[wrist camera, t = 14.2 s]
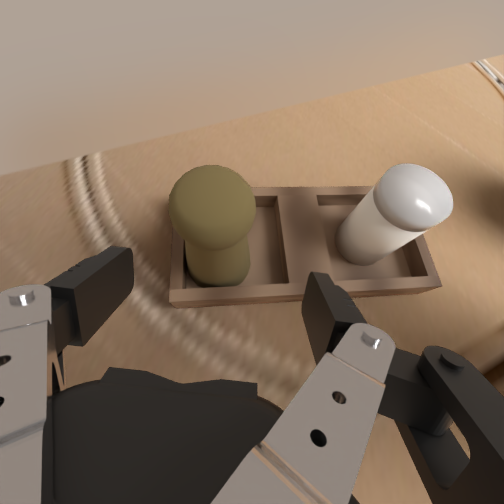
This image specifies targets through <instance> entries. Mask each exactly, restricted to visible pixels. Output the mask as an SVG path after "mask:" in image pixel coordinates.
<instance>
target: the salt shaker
mask: <svg viewBox="0 0 504 504" xmlns="http://www.w3.org/2000/svg"><path fill="white" fill-rule="evenodd" d="M452 208H453V198H452V194H451V192H450V190H449V188H448V186H447V185H446V184H445V182H444V181H443V180H442V179H441V178H440V177H439V176H438V175H436V174H435V173H434V172H432V171H430V170H429V169H427V168H424V167H422V166H419V165H415V164H407V163H406V164H398V165H395V166H393V167H391V168H390V169H388V170H387V171H386V173H385V174H384V175H383V176H382V177H381V178H380V180H379V181H378V182H377V183H376V184H375V185H374V187H373V188H372V189H371V190H370V191H369V192H368V194H367V195H366V196H365V197H364V198H363V199H362V201H361V202H360V203H359V204H358V205H357V206H356V207H355V209H354V210H353V211H352V212H351V213H350V214H349V216H348V217H347V218H346V219H345V220H344V221H343V223H342V224H341V225H340V226H339V227H338V229H337V231H336V234H335V243H336V246H337V249H338V251H339V252H340V253H341V255H342V256H343V257H344V258H345V259H347V260H348V261H349V262H351V263H354V264H356V265H361V266H368V265H372V264H374V263H376V262H378V261H379V260H381V259H383V258H384V257H386V256H387V255H389V254H391V253H392V252H394V251H395V250H397V249H399V248H400V247H402V246H403V245H405V244H407V243H408V242H410V241H411V240H413V239H415V238H416V237H418V236H419V235H421V234H423V233H424V232H426V231H427V230H429V229H431V228H432V227H434V226H435V225H437V224H439V223H440V222H442V221H443V220H445V219H446V218H447V217H448V216H449V215H450V214H451V212H452Z"/></svg>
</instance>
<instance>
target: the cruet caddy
mask: <svg viewBox="0 0 504 504" xmlns="http://www.w3.org/2000/svg"><path fill="white" fill-rule="evenodd" d="M373 187H374V186H348V187H251V190H252V192H253V194H254V197H255V203H256V214H255V218H254V222H253V225H252V228H251V229H250V231H249V232H248V233H247V238H248V245H249V252H250V263H251V265H250V269H249V272H248V275H247V276H246V278H245V279H244V281H243V282H242V283H241V284H239V285H238V286H231V287H212V288H202V287H200V286H199V285H197V284H196V283H195V282H194V281H193V279H192V278H191V277H190V275H189V271H188V268H187V260H186V248H185V240H184V239H182V238H181V236H180V235H179V234H178V233H177V231H176V230H175V229H174V227H173V231H172V251H171V271H170V290H169V302H170V303H171V304H172V305H173V306H174V307H175V308H191V307H207V306H224V305H240V304H257V303H273V302H290V301H303V297H304V292H305V288H306V284H307V280H308V276H309V274H310V272H311V271H312V272H320V273H328V274H329V276H330V278H331V279H332V281H333V283H334V284H335V285H339V286H340V287H341V288H342V289H344V290H345V291H346V292H347V293H348V294H349V296H350V297H351V298H355V297H372V296H388V295H405V294H419V293H422V292H426V291H429V290H432V289H435V288H438V287H441V286H442V284H441V281H440V279H439V276H438V273H437V271H436V268H435V265H434V263H433V260H432V257H431V254H430V252H429V249H428V246H427V244H426V241H425V238H424V236H423V234H421V235H419V236H418V237H416V238H415V239H413V240H411V241H410V242H408V243H407V244H405V245H403V246H402V247H400V248H399V249H397V250H395V251H394V252H392V253H391V254H389V255H387V256H386V257H384V258H383V259H381V260H379V261H378V262H376V263H374V264H372V265H368V266H361V265H356V264H354V263H351V262H349V261H348V260H347V259H345V258H344V257H343V256H342V255H341V253H340V252H339V251H338V249H337V246H336V243H335V234H336V231H337V229H338V227H339V226H340V225H341V224H342V223H343V221H344V220H345V219H346V218H347V217H348V216H349V214H350V213H351V212H352V211H353V210H354V209H355V207H356V206H357V205H358V204H359V203H360V202H361V201H362V199H363V198H364V197H365V196H366V195H367V194H368V192H369V191H370V190H371V189H372V188H373Z"/></svg>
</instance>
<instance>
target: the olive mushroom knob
mask: <svg viewBox="0 0 504 504" xmlns="http://www.w3.org/2000/svg"><path fill="white" fill-rule="evenodd" d="M168 212H169V216H170V219H171V222H172V225H173V227H174V229H175V230H176V231H177V233H178V234H179V235H180V236H181V238H182V239H184V240H185V248H186V260H187V268H188V271H189V275H190V277H191V278H192V279H193V281H194V282H195V283H196V284H197V285H199V286H200V287H202V288H212V287H231V286H238V285H239V284H241V283H242V282H243V281H244V279H245V278H246V276H247V275H248V272H249V269H250V265H251V263H250V252H249V245H248V238H247V233H248V232H249V231H250V229H251V228H252V225H253V222H254V218H255V214H256V203H255V197H254V194H253V192H252V190H251V187H250V185H249V184H248V183H247V182H246V181H245V180H244V179H243V178H242V177H241V176H240V175H239V174H238V173H236V172H235V171H233V170H231V169H229V168H226V167H222V166H219V165H205V166H201V167H196V168H194V169H192V170H190V171H188V172H186V173H185V174H184V175H183V176H182V177H181V178H180V179H179V180H178V181H177V182H176V183H175V185H174V187H173V189H172V191H171V193H170V195H169V209H168Z"/></svg>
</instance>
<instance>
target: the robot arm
mask: <svg viewBox="0 0 504 504" xmlns="http://www.w3.org/2000/svg"><path fill="white" fill-rule="evenodd" d="M133 285H134V269H133V253H132V250H131V249H130V248H125V247H117V246H110V247H109V248H107V249H106V250H104V251H103V252H101V253H99V254H98V255H96V256H93V257H90V258H87V259H84V260H83V261H81V262H79V263H78V264H76V265H75V266H73V267H71V268H70V269H68V271H65V272H63V273H62V274H60V275H59V276H57V277H56V278H54V279H52V280H51V281H49V282H48V283H46V284H44V285H38V284H32V285H23V286H17V287H13V288H10V289H7V290H5V291H2V292H0V504H360V503H359V502H358V501H357V500H356V498H355V497H354V496H353V495H352V491H353V487H354V484H355V481H356V478H357V475H358V472H359V468H360V465H361V462H362V459H363V456H364V453H365V449H366V446H367V443H368V440H369V437H370V434H371V431H372V427H373V424H374V421H375V418H376V415H377V413H379V414H381V415H384V416H386V417H389V418H391V419H394V421H395V423H396V425H397V427H398V429H399V432H400V434H401V436H402V438H403V440H404V443H405V445H406V447H407V449H408V451H409V453H410V456H411V458H412V460H413V462H414V464H415V467H416V469H417V471H418V473H419V475H420V477H421V480H422V482H423V484H424V486H425V488H426V491H427V493H428V495H429V497H430V499H431V502H432V504H504V397H503V396H502V395H501V394H500V393H499V392H498V391H497V390H496V389H495V388H494V387H493V386H492V384H491V383H490V382H489V381H488V380H487V379H486V378H485V377H484V376H483V375H482V374H481V373H480V372H479V371H478V370H477V369H476V368H475V367H474V366H473V365H472V364H471V363H470V362H469V361H468V360H466V359H465V358H463V357H462V356H460V355H459V354H457V353H455V352H453V351H451V350H448V349H446V348H443V347H439V346H427V347H426V348H425V349H424V351H423V353H422V355H421V356H418V355H415V354H412V353H409V352H406V351H403V350H400V349H397V348H395V347H396V346H395V343H394V341H393V339H392V338H391V337H390V336H389V335H388V334H387V333H385V332H384V331H382V330H381V329H379V328H377V327H375V326H372V325H369V324H367V322H366V321H365V319H364V318H363V316H362V314H361V313H360V311H359V310H358V308H357V307H356V305H355V304H354V302H353V301H352V299H351V297H350V296H349V294H348V293H347V292H346V291H345V290H344V289H342V288H341V287H340V286H339V285H335V284H334V283H333V281H332V279H331V278H330V276H329V274H328V273H320V272H312V271H311V272H310V274H309V276H308V280H307V284H306V288H305V292H304V297H303V301H302V316H303V320H304V323H305V327H306V330H307V334H308V337H309V341H310V344H311V348H312V352H313V355H314V359H315V362H316V368H315V369H314V370H313V372H312V373H311V375H310V376H309V377H308V379H307V380H306V381H305V383H304V384H303V386H302V387H301V388H300V390H299V391H298V393H297V394H296V395H295V397H294V398H293V400H292V401H291V402H290V404H289V405H288V407H287V408H286V409H285V411H283V410H282V409H281V408H280V407H278V406H277V405H275V404H273V403H272V402H270V401H268V400H266V399H264V398H262V397H259V396H257V383H251V382H242V381H232V380H223V379H220V380H211V381H203V382H194V383H186V384H181V383H177V382H174V381H172V380H169V379H166V378H164V377H161V376H158V375H155V374H153V373H150V372H147V371H141V370H131V369H122V368H113V367H109V368H108V370H107V371H106V373H105V374H104V376H103V377H102V379H101V380H95V381H90V382H86V383H82V384H79V385H75V386H73V387H70V388H66V372H65V357H64V352H63V349H64V348H65V347H66V346H67V345H73V346H82V347H83V346H84V345H85V344H86V343H87V342H88V340H89V339H90V338H91V337H92V336H93V335H94V334H95V333H96V331H97V330H98V329H99V328H100V327H101V326H102V325H103V324H104V322H105V321H106V320H107V319H108V318H109V317H110V316H111V314H112V313H113V312H114V311H115V310H116V309H117V308H118V307H119V305H120V304H121V303H122V302H123V301H124V300H125V299H126V298H127V296H128V295H129V294H130V293H131V291H132V289H133ZM453 421H454V422H455V424H456V425H457V427H458V428H459V430H460V431H461V433H462V434H463V435H464V437H465V439H466V441H467V443H468V445H469V449H470V460H469V458H468V457H467V455H466V453H465V452H464V450H463V449H462V447H461V446H460V444H459V443H458V441H457V439H456V438H455V436H454V435H453V433H452V432H451V430H450V429H449V427H450V426H451V424H452V423H453Z"/></svg>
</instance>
